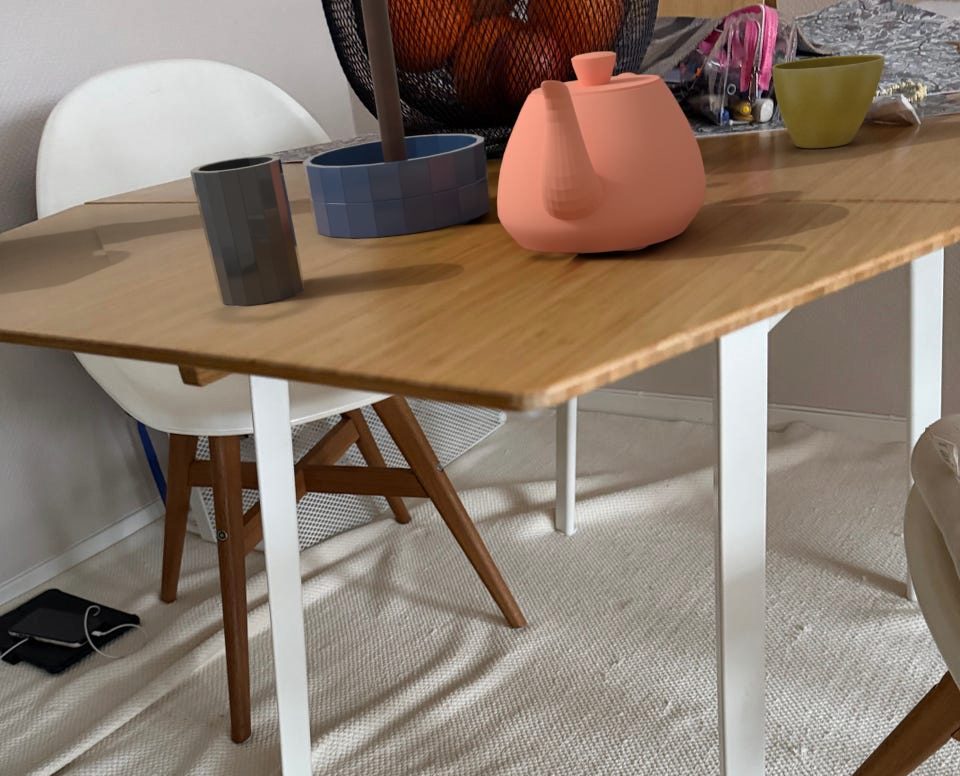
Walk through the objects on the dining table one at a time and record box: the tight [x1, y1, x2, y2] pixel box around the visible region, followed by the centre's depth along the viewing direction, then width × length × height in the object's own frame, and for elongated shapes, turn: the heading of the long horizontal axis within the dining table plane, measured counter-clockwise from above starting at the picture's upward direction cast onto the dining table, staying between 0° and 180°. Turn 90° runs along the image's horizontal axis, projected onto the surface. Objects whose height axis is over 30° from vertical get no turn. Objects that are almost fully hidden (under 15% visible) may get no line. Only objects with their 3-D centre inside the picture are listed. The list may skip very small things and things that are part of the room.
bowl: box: [302, 133, 492, 239], centre depth 93 cm, size 15×15×6 cm
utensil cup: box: [189, 155, 306, 307], centre depth 74 cm, size 6×6×9 cm
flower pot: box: [771, 54, 886, 149], centre depth 104 cm, size 10×10×7 cm
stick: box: [360, 0, 408, 163], centre depth 89 cm, size 2×2×20 cm
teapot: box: [496, 51, 707, 254], centre depth 77 cm, size 22×15×12 cm
